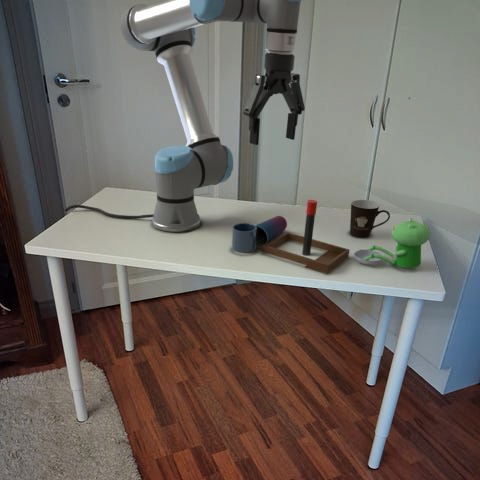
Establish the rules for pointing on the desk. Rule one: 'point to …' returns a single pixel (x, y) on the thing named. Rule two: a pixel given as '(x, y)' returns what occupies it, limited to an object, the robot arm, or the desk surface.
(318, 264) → the pen tray
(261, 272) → the desk surface
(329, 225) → the desk surface
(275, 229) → the cup
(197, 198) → the desk surface
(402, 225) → the toy character
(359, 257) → the shallow grey dish
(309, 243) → the marker
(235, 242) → the pen cup
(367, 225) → the coffee mug
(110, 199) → the desk surface
